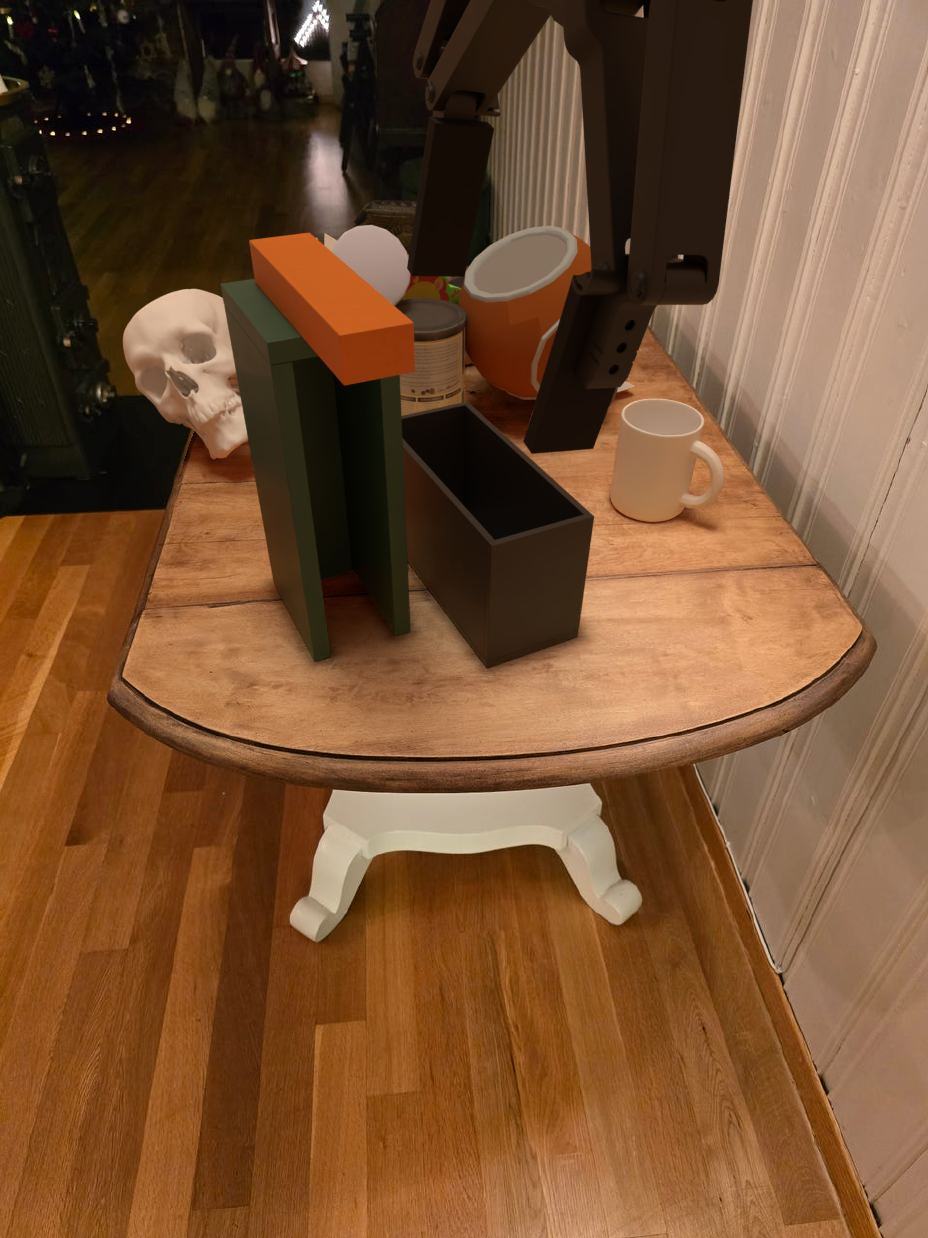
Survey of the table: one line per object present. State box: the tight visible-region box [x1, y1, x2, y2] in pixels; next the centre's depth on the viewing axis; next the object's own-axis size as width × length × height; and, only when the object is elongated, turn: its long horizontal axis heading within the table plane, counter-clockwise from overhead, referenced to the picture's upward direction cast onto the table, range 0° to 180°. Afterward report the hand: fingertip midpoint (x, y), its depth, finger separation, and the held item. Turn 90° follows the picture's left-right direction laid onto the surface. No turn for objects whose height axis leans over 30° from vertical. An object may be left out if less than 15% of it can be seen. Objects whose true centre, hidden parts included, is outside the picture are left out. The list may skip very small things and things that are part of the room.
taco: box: [401, 274, 473, 365], centre depth 109 cm, size 16×6×15 cm, turn 136°
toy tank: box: [353, 199, 417, 255], centre depth 134 cm, size 14×28×10 cm
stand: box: [220, 278, 412, 662], centre depth 67 cm, size 12×9×28 cm
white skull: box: [122, 288, 248, 460], centre depth 96 cm, size 14×20×19 cm
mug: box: [609, 398, 725, 523], centre depth 86 cm, size 12×8×10 cm
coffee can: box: [395, 298, 467, 416], centre depth 98 cm, size 10×10×14 cm
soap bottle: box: [331, 225, 410, 306], centre depth 101 cm, size 9×9×25 cm
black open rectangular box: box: [402, 401, 595, 669], centre depth 75 cm, size 22×9×13 cm, turn 27°
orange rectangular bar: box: [248, 232, 415, 385], centre depth 54 cm, size 19×4×3 cm, turn 26°
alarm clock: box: [459, 225, 591, 401], centre depth 98 cm, size 19×18×17 cm
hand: (490, 350), depth 35 cm, fingers open, 13 cm apart
